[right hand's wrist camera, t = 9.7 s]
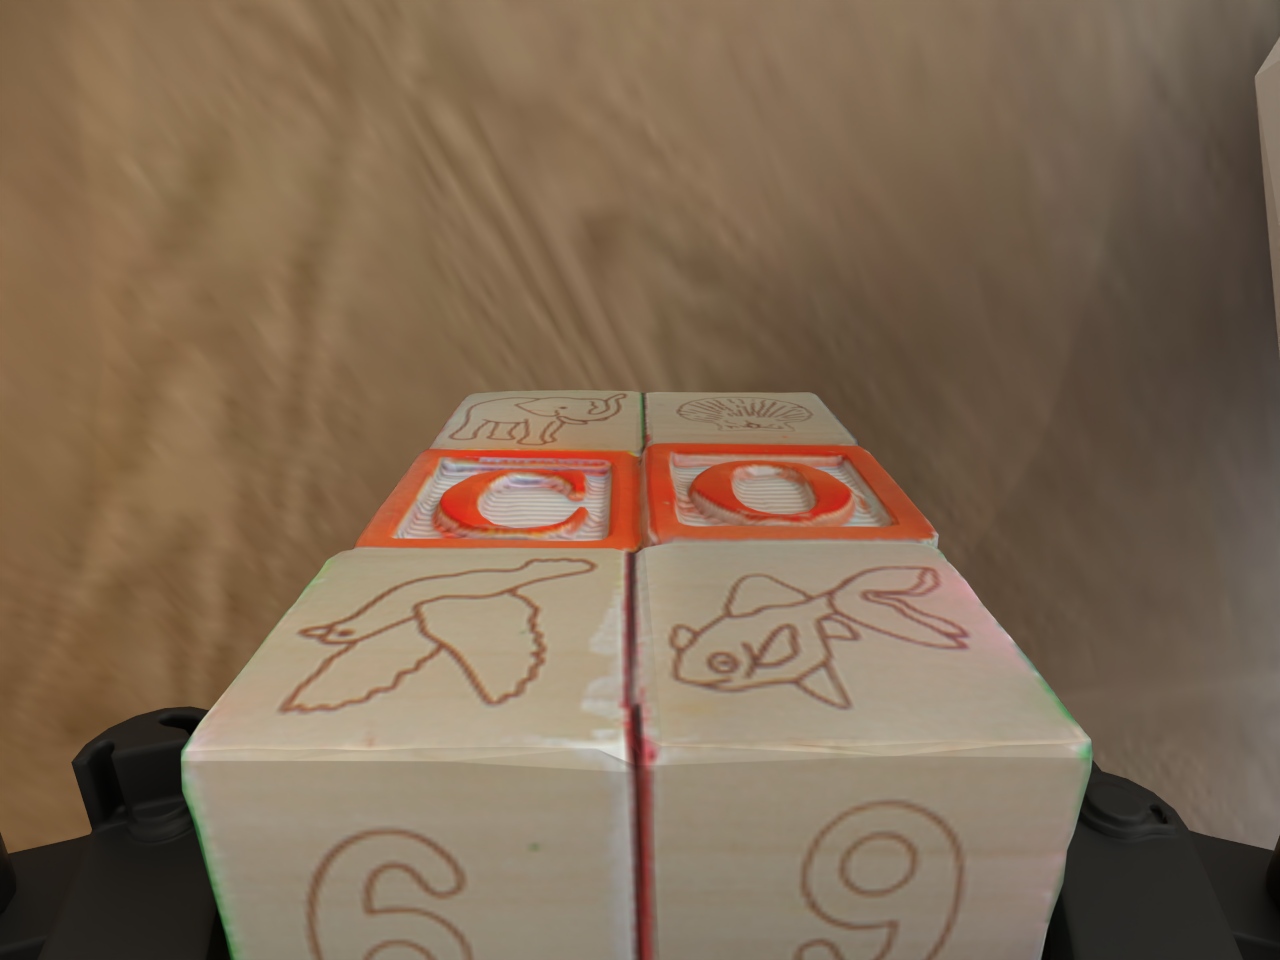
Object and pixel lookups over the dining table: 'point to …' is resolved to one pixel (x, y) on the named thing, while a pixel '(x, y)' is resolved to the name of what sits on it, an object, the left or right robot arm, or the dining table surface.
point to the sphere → (1271, 159)
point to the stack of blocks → (638, 711)
